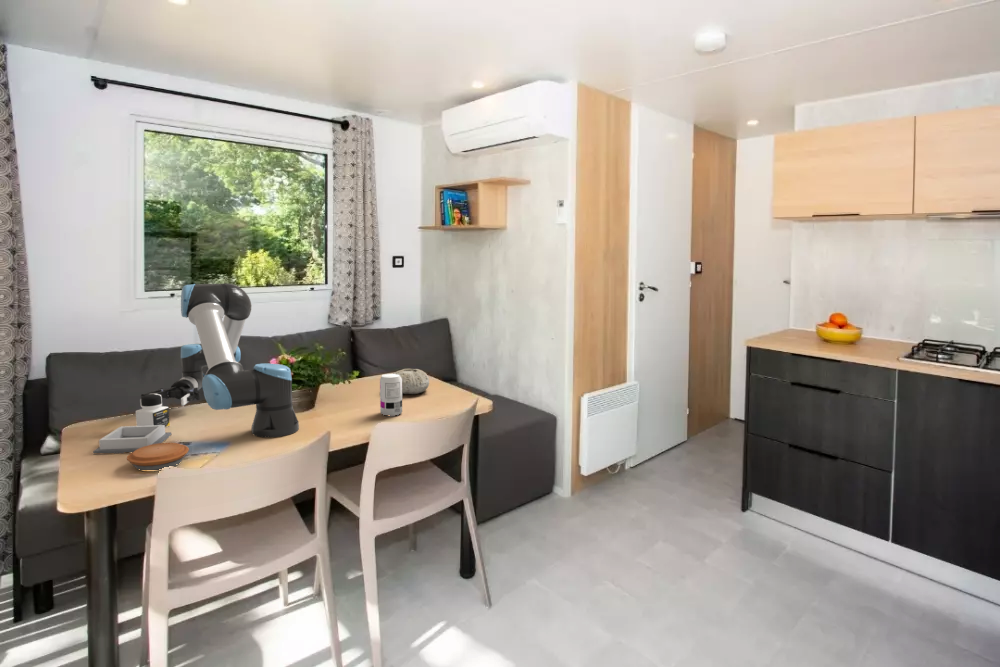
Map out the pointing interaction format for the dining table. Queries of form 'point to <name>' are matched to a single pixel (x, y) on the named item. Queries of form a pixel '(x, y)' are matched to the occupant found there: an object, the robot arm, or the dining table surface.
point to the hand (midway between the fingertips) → (162, 402)
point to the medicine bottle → (152, 411)
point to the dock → (132, 438)
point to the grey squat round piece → (413, 381)
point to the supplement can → (391, 394)
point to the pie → (158, 456)
